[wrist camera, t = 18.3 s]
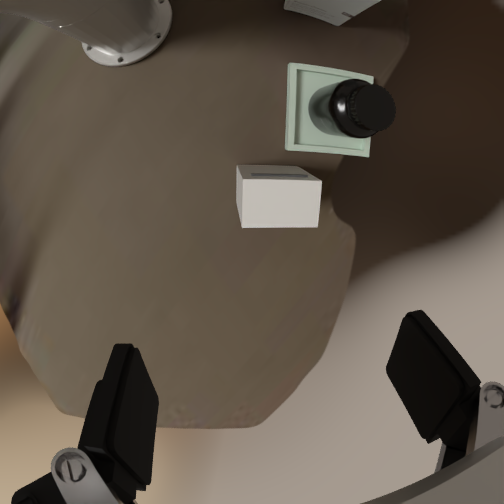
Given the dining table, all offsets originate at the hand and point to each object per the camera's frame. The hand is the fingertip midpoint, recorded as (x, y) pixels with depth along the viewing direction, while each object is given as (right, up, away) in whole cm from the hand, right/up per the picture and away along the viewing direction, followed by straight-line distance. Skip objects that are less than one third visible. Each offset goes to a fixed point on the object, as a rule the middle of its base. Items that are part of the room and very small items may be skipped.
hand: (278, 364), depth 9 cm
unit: (+1, +13, +29) cm, 32 cm away
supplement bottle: (+9, +22, +25) cm, 35 cm away
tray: (+9, +22, +25) cm, 35 cm away
